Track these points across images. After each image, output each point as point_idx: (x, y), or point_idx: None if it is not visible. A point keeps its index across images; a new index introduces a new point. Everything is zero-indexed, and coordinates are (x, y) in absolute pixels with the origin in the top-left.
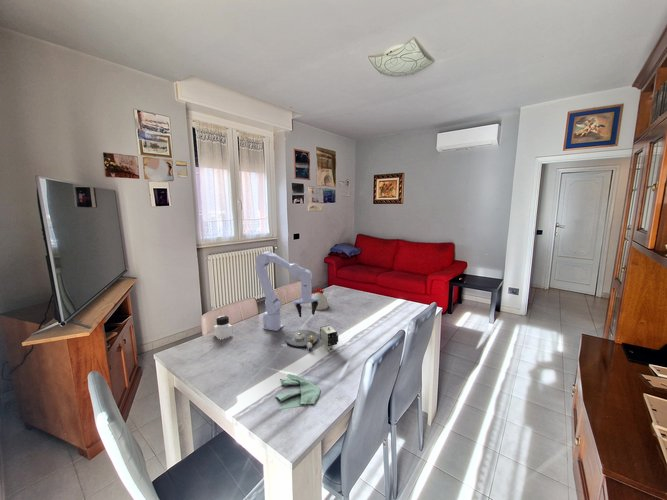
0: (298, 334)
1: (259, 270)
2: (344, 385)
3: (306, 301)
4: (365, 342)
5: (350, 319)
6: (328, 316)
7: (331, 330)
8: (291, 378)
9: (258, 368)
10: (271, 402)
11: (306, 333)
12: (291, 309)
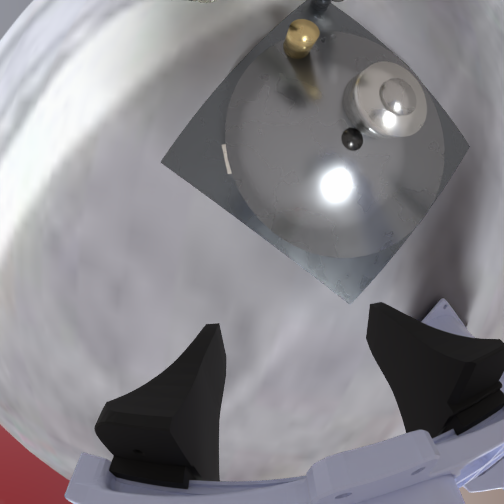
0: (405, 84)
1: None
2: None
3: (425, 476)
4: (19, 50)
5: (22, 323)
6: (117, 396)
7: None
8: None
9: (497, 23)
10: None
11: (306, 182)
12: (280, 475)
